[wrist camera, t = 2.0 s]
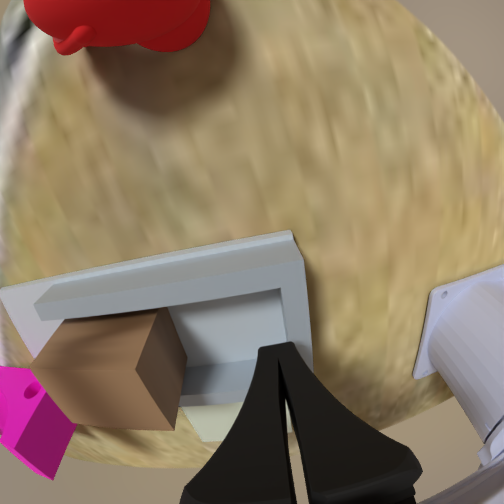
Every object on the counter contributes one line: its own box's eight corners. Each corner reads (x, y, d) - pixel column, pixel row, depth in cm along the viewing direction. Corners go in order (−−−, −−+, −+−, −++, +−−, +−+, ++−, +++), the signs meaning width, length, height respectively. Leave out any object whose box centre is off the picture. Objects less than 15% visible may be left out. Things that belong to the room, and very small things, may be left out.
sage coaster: (281, 368, 16) (282, 375, 16) (291, 426, 19) (292, 432, 18) (171, 381, 16) (170, 388, 16) (203, 435, 19) (202, 441, 19)
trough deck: (290, 229, 13) (303, 253, 10) (305, 357, 16) (314, 392, 13) (2, 287, 14) (-21, 308, 11) (52, 376, 17) (38, 400, 14)
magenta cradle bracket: (12, 405, 19) (-14, 451, 12) (-21, 363, 17) (-54, 408, 10) (103, 423, 18) (76, 496, 11) (59, 370, 15) (14, 448, 8)
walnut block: (163, 297, 13) (134, 369, 9) (187, 357, 15) (174, 430, 10) (71, 310, 14) (29, 367, 9) (100, 362, 15) (72, 422, 10)
